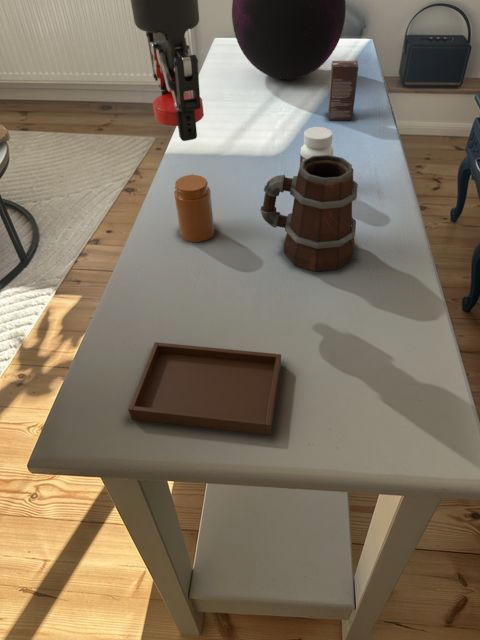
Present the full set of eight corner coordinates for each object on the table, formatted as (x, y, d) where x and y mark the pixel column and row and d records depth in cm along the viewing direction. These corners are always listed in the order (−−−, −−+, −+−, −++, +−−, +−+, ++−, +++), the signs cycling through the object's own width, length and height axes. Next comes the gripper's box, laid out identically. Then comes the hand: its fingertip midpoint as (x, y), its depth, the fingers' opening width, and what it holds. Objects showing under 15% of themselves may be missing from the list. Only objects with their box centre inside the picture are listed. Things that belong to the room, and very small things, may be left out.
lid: (208, 107, 66) (207, 93, 65) (198, 127, 62) (197, 112, 60) (161, 105, 67) (159, 91, 65) (149, 125, 62) (146, 110, 61)
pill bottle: (306, 179, 99) (309, 123, 90) (334, 186, 97) (340, 129, 88) (293, 193, 95) (295, 135, 87) (322, 200, 93) (327, 142, 85)
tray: (131, 419, 59) (127, 409, 58) (157, 352, 67) (154, 341, 65) (270, 435, 57) (270, 425, 56) (280, 364, 65) (281, 354, 63)
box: (351, 113, 121) (357, 59, 112) (352, 121, 118) (359, 66, 109) (327, 113, 121) (331, 59, 112) (327, 120, 118) (332, 66, 109)
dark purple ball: (335, 59, 149) (347, -69, 126) (342, 96, 128) (358, -48, 106) (238, 58, 150) (233, -68, 127) (230, 95, 129) (222, -48, 107)
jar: (179, 242, 84) (171, 192, 77) (182, 223, 88) (174, 174, 81) (213, 241, 84) (208, 191, 77) (214, 222, 88) (210, 173, 81)
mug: (354, 233, 85) (366, 150, 74) (350, 276, 77) (364, 190, 66) (266, 225, 87) (266, 143, 76) (254, 266, 79) (252, 181, 68)
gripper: (215, -15, 50) (225, 145, 62) (175, -39, 59) (190, 105, 71) (144, -8, 48) (168, 156, 60) (113, -34, 57) (140, 113, 69)
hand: (180, 128), depth 65 cm, fingers closed on lid, 6 cm apart
